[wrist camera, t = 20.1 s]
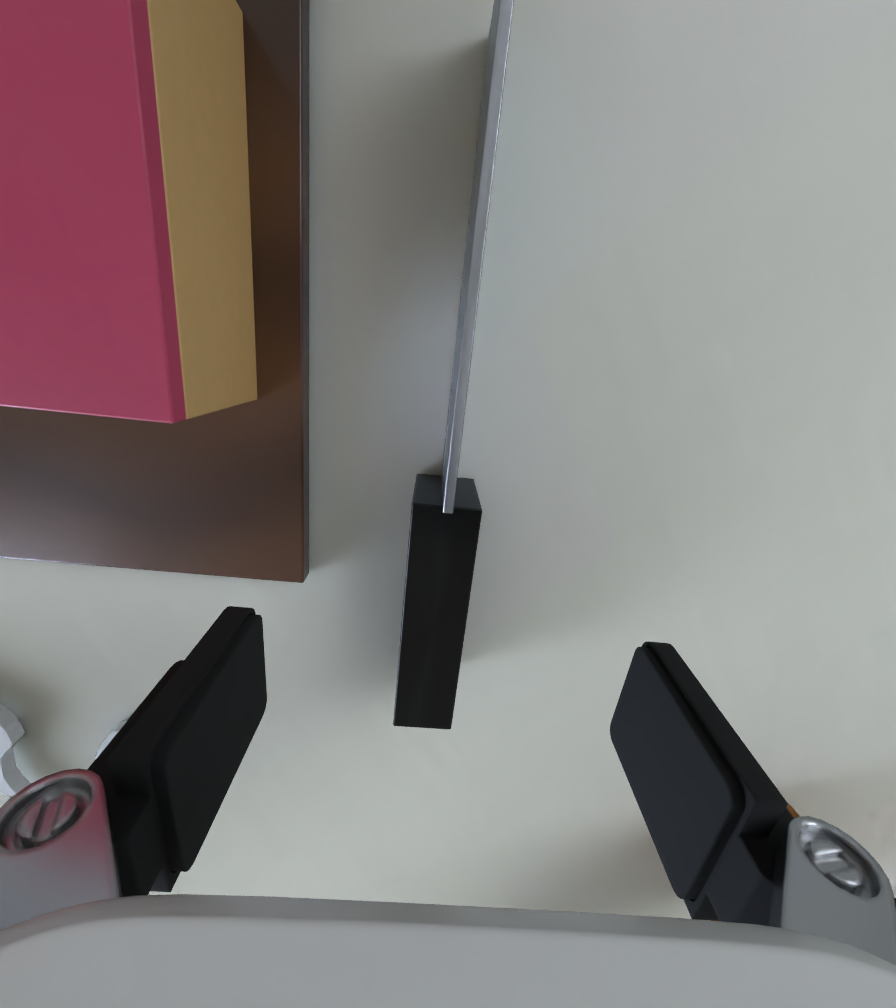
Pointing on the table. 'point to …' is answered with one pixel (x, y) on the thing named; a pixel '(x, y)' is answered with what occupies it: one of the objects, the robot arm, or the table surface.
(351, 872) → the table surface
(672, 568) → the table surface
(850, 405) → the table surface
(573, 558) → the table surface
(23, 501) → the cake board
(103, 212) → the cake
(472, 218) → the knife
